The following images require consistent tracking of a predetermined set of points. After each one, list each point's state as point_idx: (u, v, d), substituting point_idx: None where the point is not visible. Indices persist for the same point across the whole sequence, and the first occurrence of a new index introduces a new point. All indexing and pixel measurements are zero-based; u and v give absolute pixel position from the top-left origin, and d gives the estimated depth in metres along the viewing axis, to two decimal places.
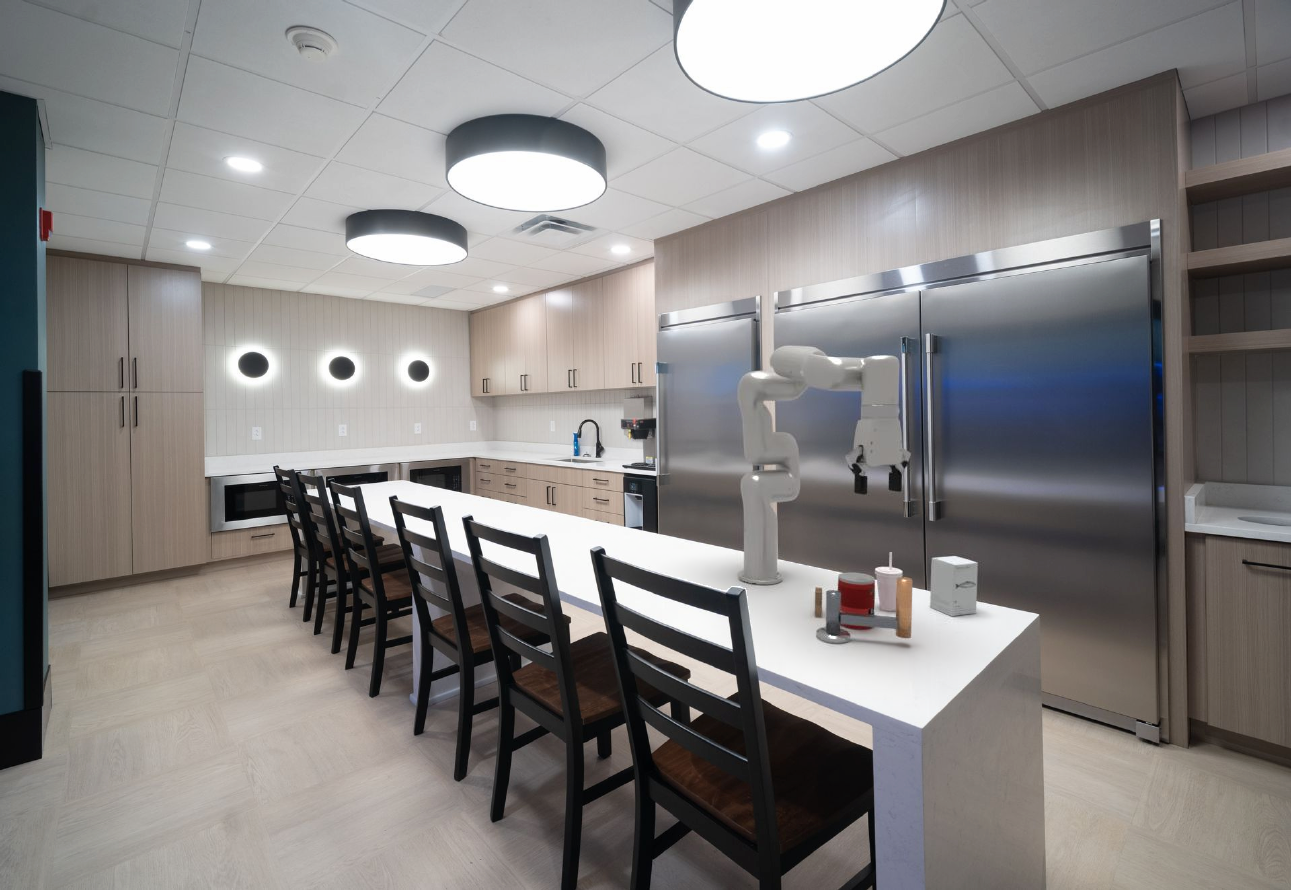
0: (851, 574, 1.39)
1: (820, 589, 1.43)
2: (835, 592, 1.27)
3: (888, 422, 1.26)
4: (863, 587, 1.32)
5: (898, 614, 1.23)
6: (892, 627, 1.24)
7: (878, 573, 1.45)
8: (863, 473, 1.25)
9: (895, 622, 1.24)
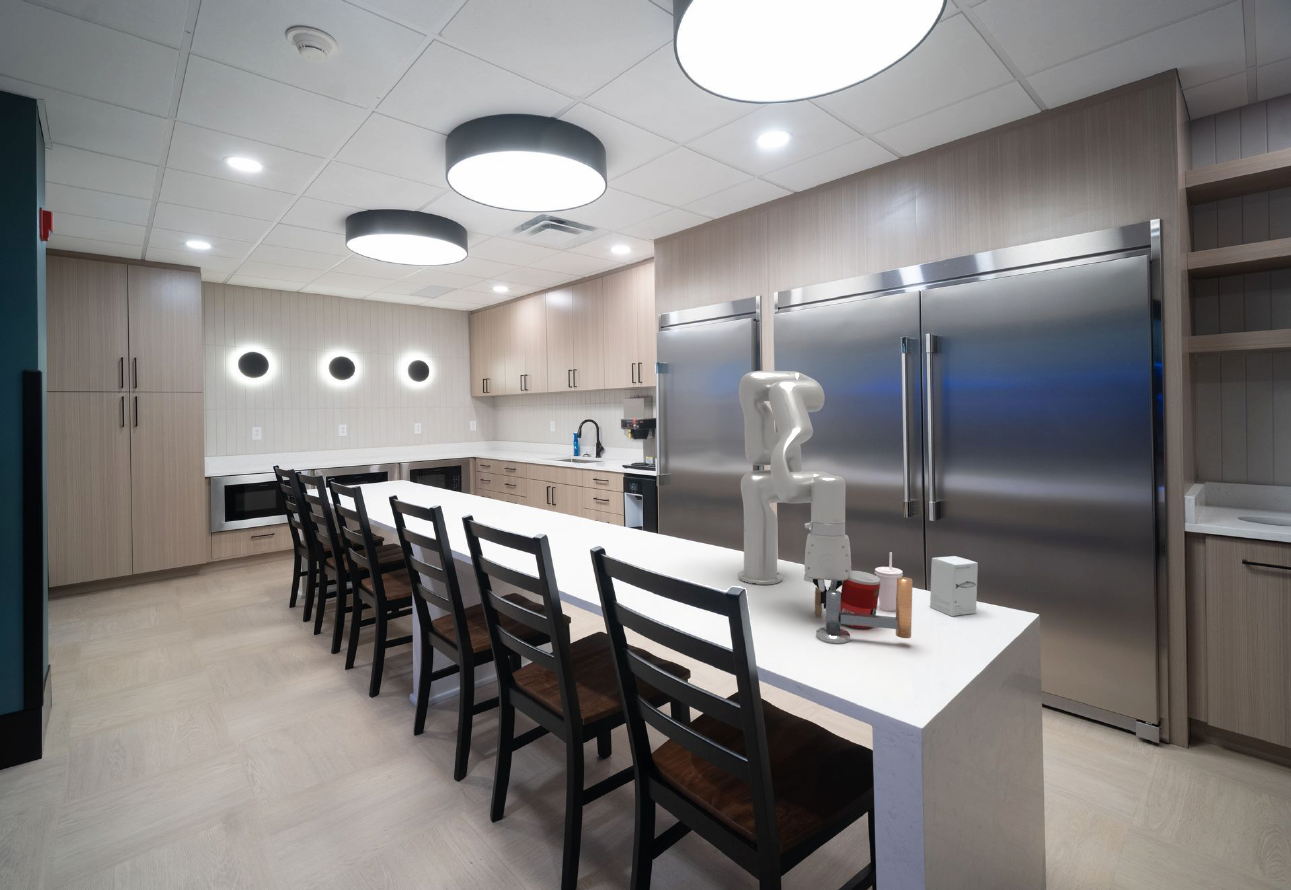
0: (856, 572, 1.38)
1: None
2: (835, 592, 1.27)
3: None
4: (868, 587, 1.31)
5: (898, 614, 1.23)
6: (892, 627, 1.24)
7: (878, 573, 1.45)
8: None
9: (895, 622, 1.24)
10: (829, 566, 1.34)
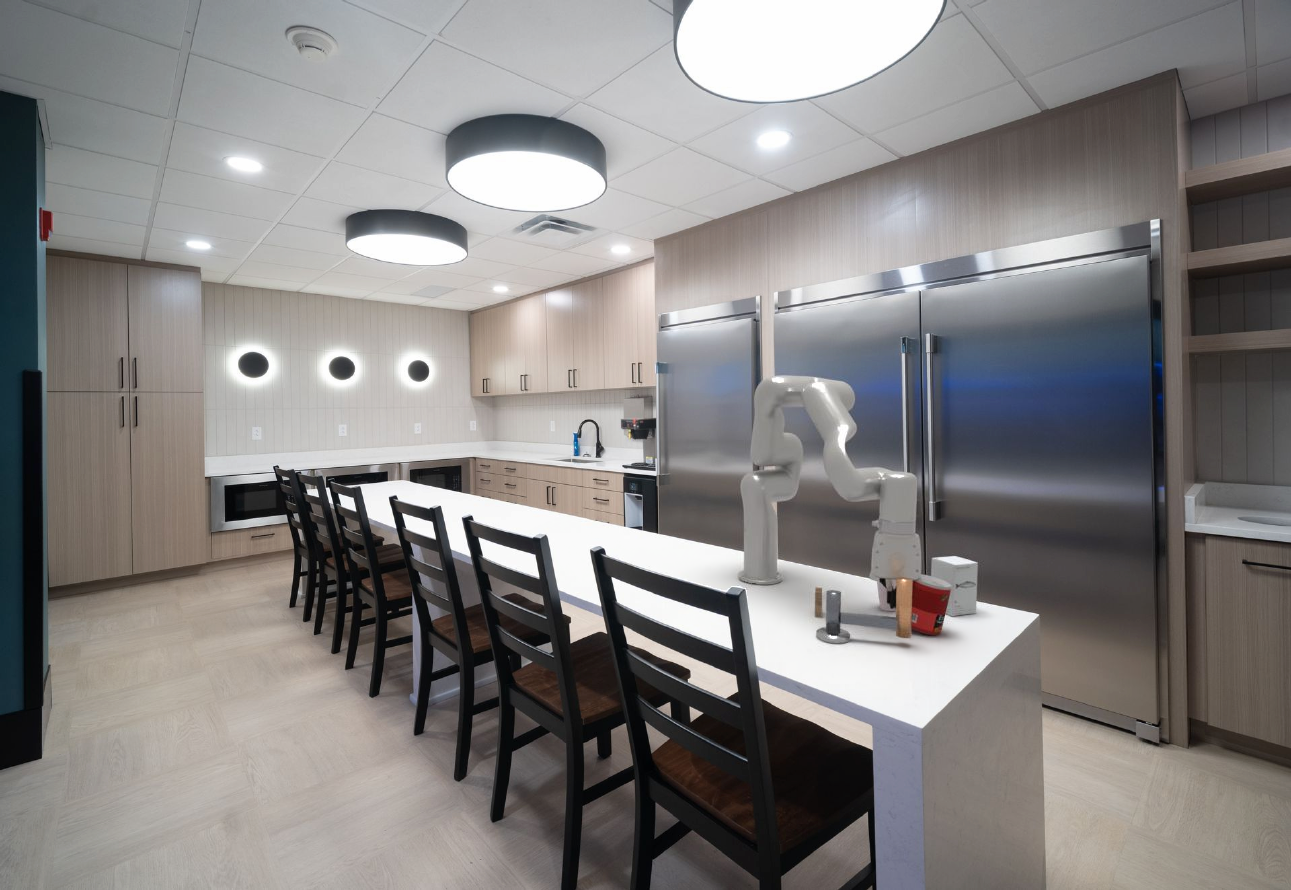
0: (928, 577, 1.34)
1: (820, 589, 1.43)
2: (835, 592, 1.27)
3: None
4: (935, 591, 1.27)
5: (898, 614, 1.23)
6: (892, 627, 1.24)
7: None
8: None
9: (895, 622, 1.24)
10: (899, 565, 1.30)
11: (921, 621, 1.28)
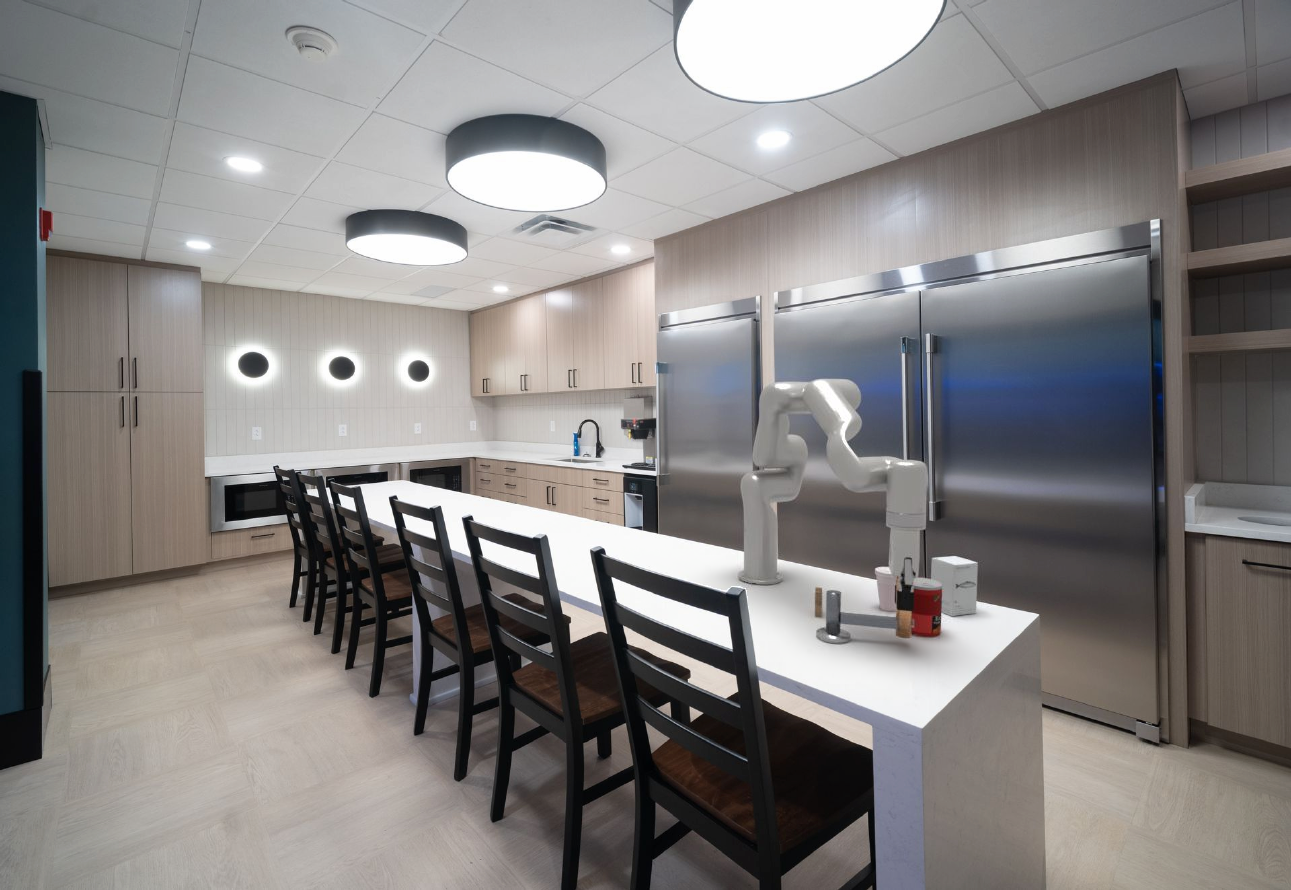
0: (918, 579, 1.34)
1: (820, 589, 1.43)
2: (835, 592, 1.27)
3: None
4: (926, 593, 1.28)
5: (898, 614, 1.23)
6: (892, 627, 1.24)
7: (878, 573, 1.45)
8: None
9: (895, 622, 1.24)
10: None
11: (918, 625, 1.29)
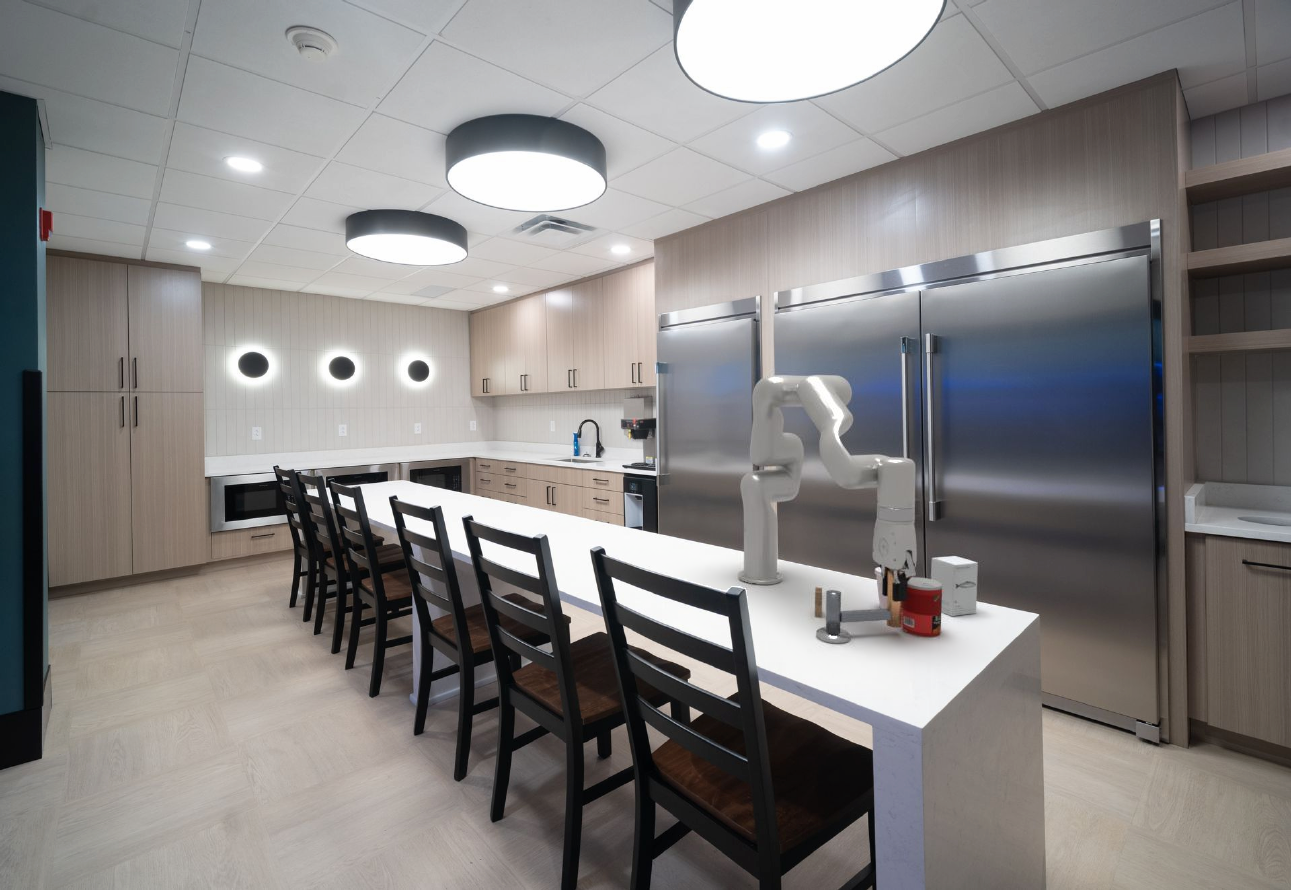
0: (918, 579, 1.34)
1: (820, 589, 1.43)
2: (835, 592, 1.28)
3: None
4: (926, 593, 1.28)
5: (891, 605, 1.29)
6: (886, 619, 1.29)
7: (878, 573, 1.45)
8: None
9: (889, 613, 1.29)
10: (884, 552, 1.28)
11: (918, 625, 1.29)
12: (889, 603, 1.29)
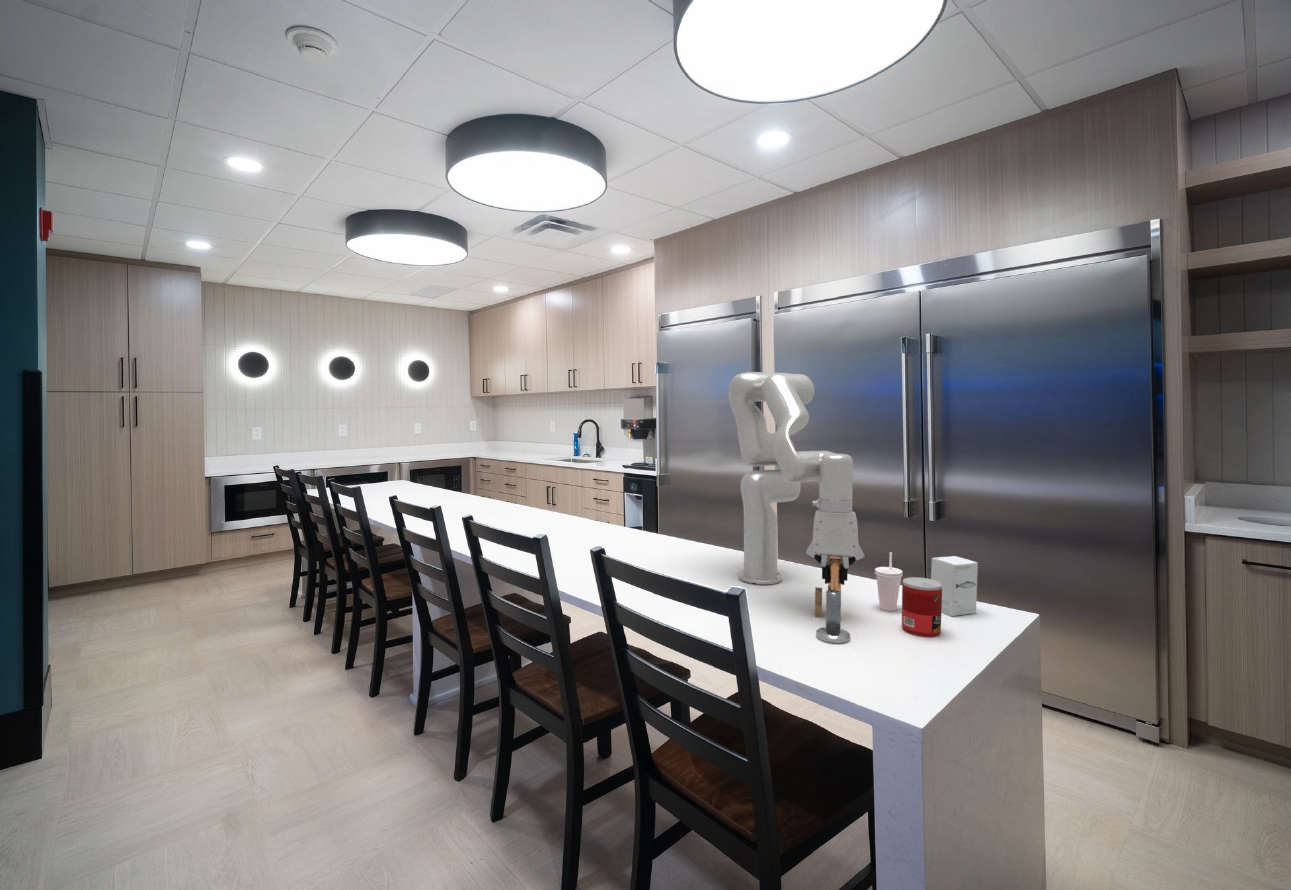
0: (918, 579, 1.34)
1: (820, 589, 1.43)
2: (834, 591, 1.28)
3: None
4: (926, 593, 1.28)
5: (838, 590, 1.40)
6: None
7: (878, 573, 1.45)
8: None
9: None
10: (837, 542, 1.38)
11: (918, 625, 1.29)
12: (836, 588, 1.40)
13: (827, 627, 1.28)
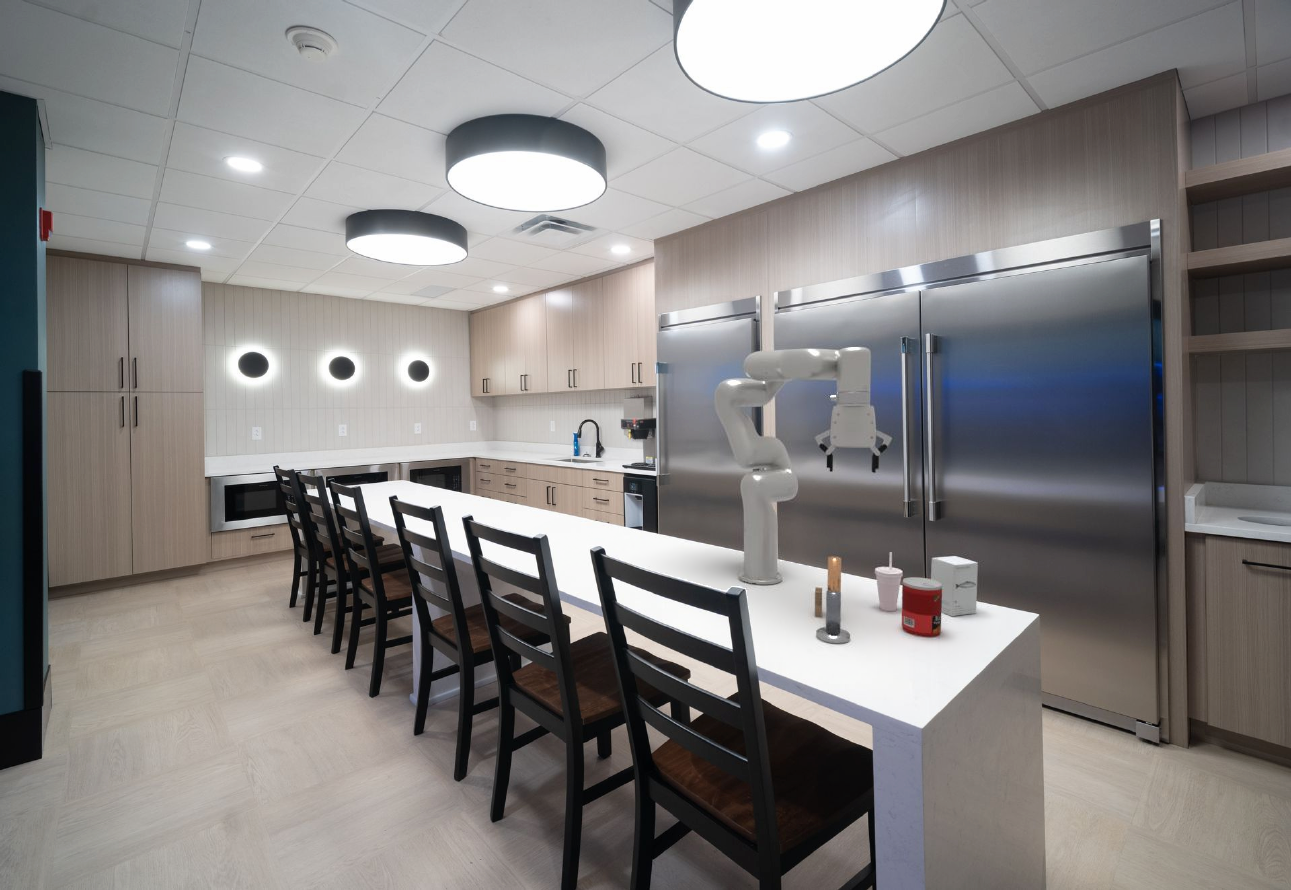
0: (918, 579, 1.34)
1: (820, 589, 1.43)
2: (834, 591, 1.28)
3: None
4: (926, 593, 1.28)
5: (838, 590, 1.40)
6: None
7: (878, 573, 1.45)
8: None
9: None
10: (855, 434, 1.39)
11: (918, 625, 1.29)
12: (836, 588, 1.40)
13: (827, 627, 1.28)
